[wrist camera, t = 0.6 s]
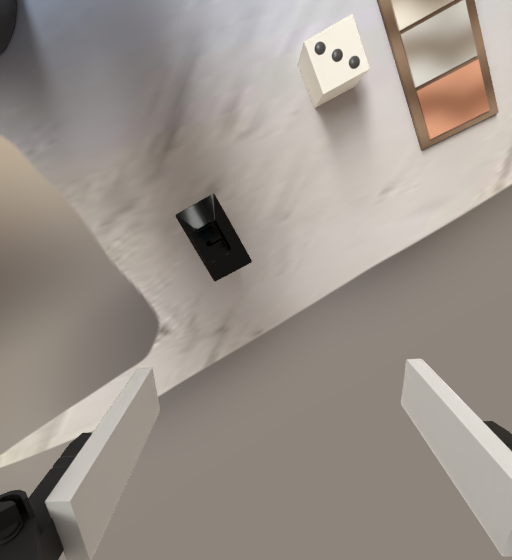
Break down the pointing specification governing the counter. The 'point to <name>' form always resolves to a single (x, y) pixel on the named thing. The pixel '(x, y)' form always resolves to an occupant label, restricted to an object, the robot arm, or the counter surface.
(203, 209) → the black piece
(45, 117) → the counter surface
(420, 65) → the game board
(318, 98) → the die
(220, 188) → the counter surface
